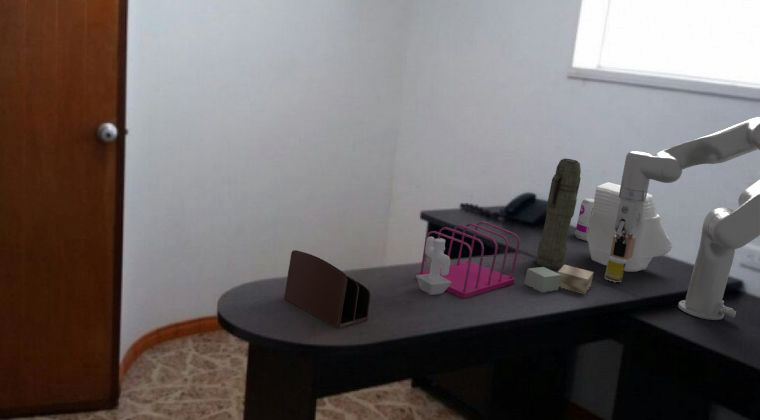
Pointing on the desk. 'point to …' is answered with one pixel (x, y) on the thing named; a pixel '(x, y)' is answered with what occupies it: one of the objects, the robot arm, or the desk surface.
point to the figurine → (435, 268)
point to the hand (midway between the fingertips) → (621, 253)
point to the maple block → (575, 278)
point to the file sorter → (474, 265)
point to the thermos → (559, 214)
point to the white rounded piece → (602, 231)
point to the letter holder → (325, 291)
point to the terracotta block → (629, 247)
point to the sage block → (542, 279)
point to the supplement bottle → (615, 269)
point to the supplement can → (584, 218)
